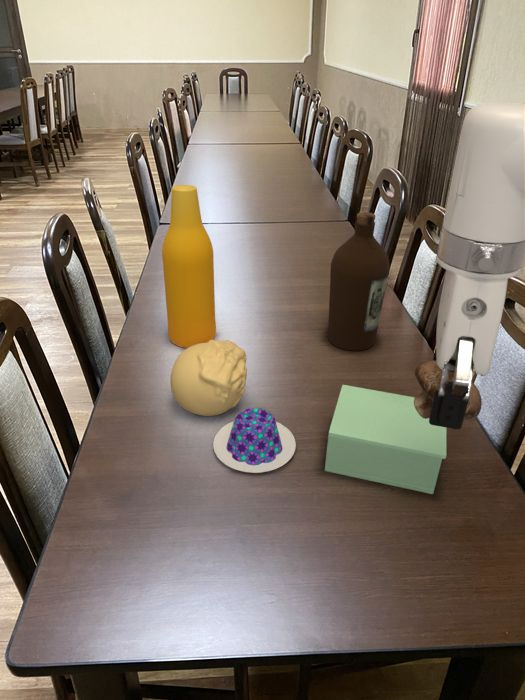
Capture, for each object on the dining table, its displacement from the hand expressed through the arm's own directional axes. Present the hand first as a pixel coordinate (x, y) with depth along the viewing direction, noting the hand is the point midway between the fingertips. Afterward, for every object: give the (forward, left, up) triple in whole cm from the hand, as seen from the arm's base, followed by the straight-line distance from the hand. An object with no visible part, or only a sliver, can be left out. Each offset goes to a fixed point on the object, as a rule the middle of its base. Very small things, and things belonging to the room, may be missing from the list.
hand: (444, 401), depth 59 cm
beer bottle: (+44, -33, -18) cm, 58 cm away
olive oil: (+14, -42, -18) cm, 48 cm away
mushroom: (0, 0, -2) cm, 2 cm away
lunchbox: (+5, -10, -18) cm, 21 cm away
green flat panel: (+5, -10, -12) cm, 16 cm away
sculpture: (+33, -14, -18) cm, 40 cm away
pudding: (+23, -6, -18) cm, 30 cm away
